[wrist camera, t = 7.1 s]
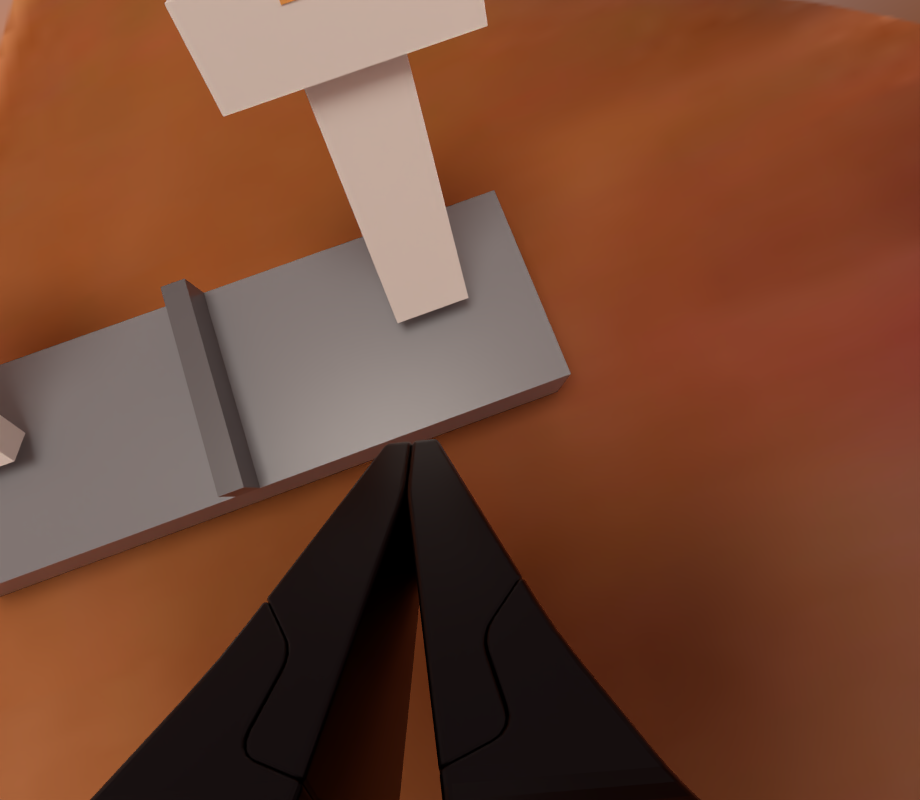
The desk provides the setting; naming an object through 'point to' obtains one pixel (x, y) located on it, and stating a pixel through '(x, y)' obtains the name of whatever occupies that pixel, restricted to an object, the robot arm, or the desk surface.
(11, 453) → the switch
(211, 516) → the grey ridged base plate
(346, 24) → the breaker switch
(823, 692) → the desk surface
